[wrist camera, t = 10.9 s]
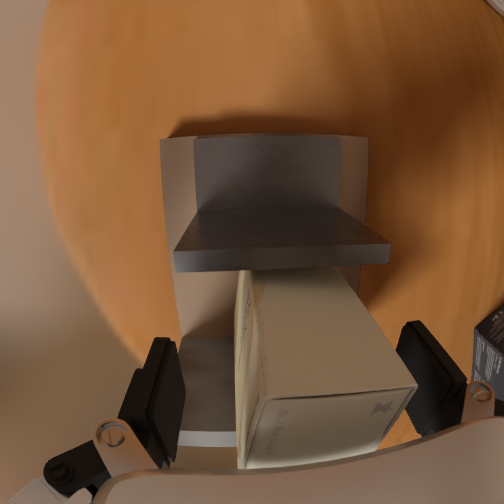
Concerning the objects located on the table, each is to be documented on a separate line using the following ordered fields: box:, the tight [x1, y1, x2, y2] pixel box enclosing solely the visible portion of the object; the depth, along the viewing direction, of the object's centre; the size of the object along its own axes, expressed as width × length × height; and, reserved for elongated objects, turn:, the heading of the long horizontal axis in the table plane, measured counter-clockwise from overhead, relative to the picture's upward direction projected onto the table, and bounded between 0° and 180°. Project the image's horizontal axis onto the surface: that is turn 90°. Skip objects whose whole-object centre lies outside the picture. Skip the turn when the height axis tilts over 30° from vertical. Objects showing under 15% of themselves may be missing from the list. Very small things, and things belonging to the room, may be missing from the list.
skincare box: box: [234, 266, 418, 469], centre depth 13 cm, size 6×4×12 cm
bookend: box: [173, 136, 391, 273], centre depth 13 cm, size 8×5×7 cm, turn 91°
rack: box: [160, 133, 369, 447], centre depth 15 cm, size 12×16×10 cm
